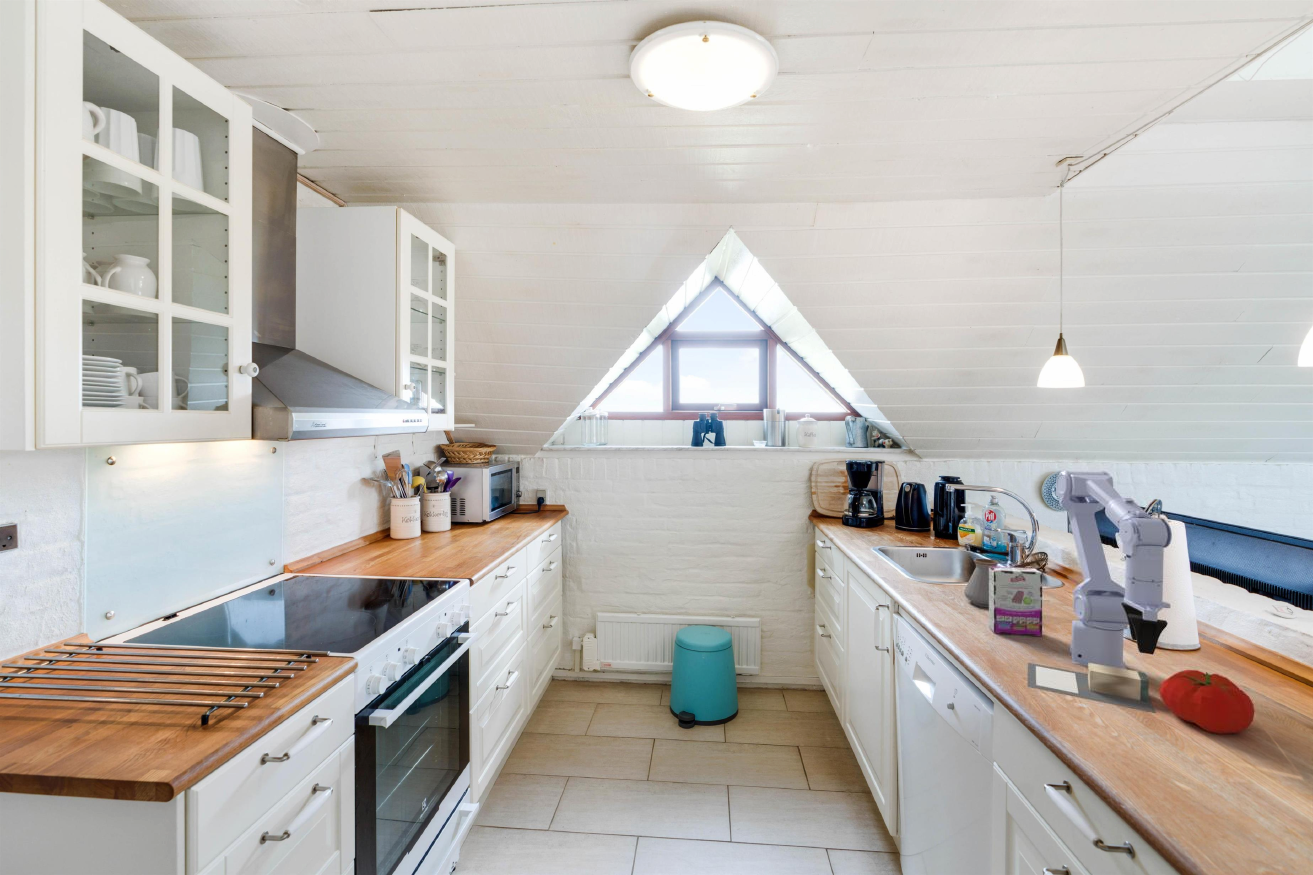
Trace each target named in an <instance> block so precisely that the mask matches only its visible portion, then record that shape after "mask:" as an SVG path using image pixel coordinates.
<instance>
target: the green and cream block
mask: <svg viewBox="0 0 1313 875" xmlns="http://www.w3.org/2000/svg"><path fill="white" fill-rule="evenodd" d="M1087 674H1088V685H1089V689H1090V690H1091V691H1096V692H1101V693H1106V694H1111V695H1116V696H1121V697H1126V698H1131V699H1136V700H1141V701H1146V702H1148V697H1149V698H1150V696H1149V692H1150V691H1149V689H1150V684H1149V683H1150V681H1149V679H1148V677H1147V674H1146V673H1145V672H1142V671H1136V670H1131V669H1127V668H1126V669H1120V668H1115V667H1109V666H1104V665H1098V664H1093V663H1088V666H1087Z"/></svg>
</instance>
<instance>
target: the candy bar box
mask: <svg viewBox="0 0 1313 875" xmlns="http://www.w3.org/2000/svg"><path fill="white" fill-rule="evenodd" d="M1011 567H1012V566H1010V567H1009V566H996V567H989V607H988V625H989V626H988V628H989V629H990V630H991V631H992V632H993V633H994V634H998V635H1000V634H1001V635H1014V636H1028V637H1043V571H1040V570H1038V569H1037V568H1031V567H1028V568H1027V567H1022V568H1011Z"/></svg>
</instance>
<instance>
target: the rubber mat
mask: <svg viewBox="0 0 1313 875" xmlns="http://www.w3.org/2000/svg"><path fill="white" fill-rule="evenodd" d="M1026 683H1027V684H1026V685H1027V687H1028V688H1032V689H1033V688H1034V689H1038V690H1043V691H1047V692H1052V693H1058V694H1062V695H1065V696H1071V697H1075V698H1081V699H1084V700H1085V699H1086V700H1090V701H1096V702H1100V703H1104V704H1108V705H1109V704H1110V705H1114V706H1119V707H1125V708H1130V709H1134V710H1138V711H1143V712H1147V713H1154V714H1156V711H1155V710H1156V709H1155V707H1154V705H1153V704H1152V701H1151V698H1150V696H1149V697H1148V702H1146V701H1141V700H1136V699H1131V698H1126V697H1121V696H1116V695H1111V694H1106V693H1101V692H1096V691H1091V690H1090V689H1089V685H1088V673H1085V672H1080V671H1074V670H1069V669H1064V668H1060V667H1059V668H1058V667H1053V666H1049V665H1043V664H1039V663H1038V664H1037V663H1031V662H1027V682H1026Z"/></svg>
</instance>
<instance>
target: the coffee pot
mask: <svg viewBox="0 0 1313 875" xmlns="http://www.w3.org/2000/svg"><path fill="white" fill-rule="evenodd" d="M973 562H974V563H975V568H974V571H973V573H972V574H971V576H970V579H969V580H968V581H967V583H966V586H965V587H964V590H963V594H964V596H965V597H966V598H967V600H968V601H970V603H971V604H973V605H975V606H978V607H982V608H989V567H998V565H999V561H997V560H994V559H989V558H975V559H973ZM1043 562H1044V563H1045V564H1046V566H1048V565H1049V563H1048V562H1047V559H1046V558H1045V557H1043V558H1039V559H1035V560H1030V561H1025V562H1022V563H1019V564H1015V565H1013V566H1010V567H1011V568H1027V567H1030V566H1032V565H1035V564H1039V563H1043Z"/></svg>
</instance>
